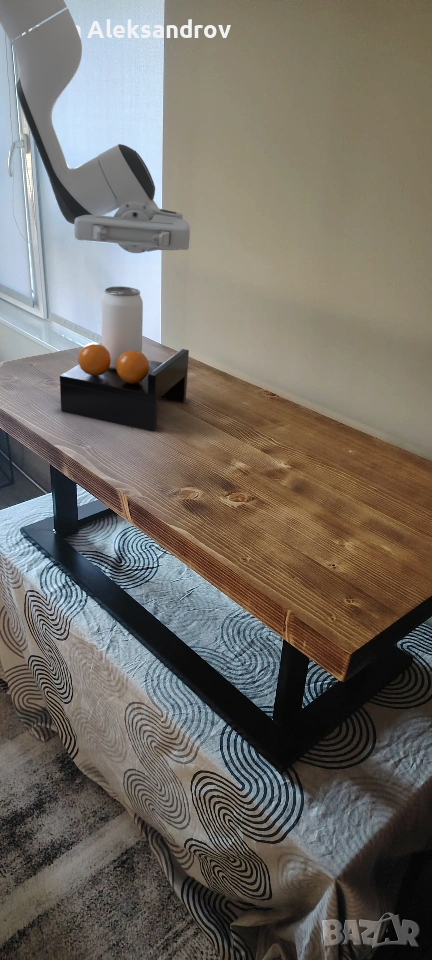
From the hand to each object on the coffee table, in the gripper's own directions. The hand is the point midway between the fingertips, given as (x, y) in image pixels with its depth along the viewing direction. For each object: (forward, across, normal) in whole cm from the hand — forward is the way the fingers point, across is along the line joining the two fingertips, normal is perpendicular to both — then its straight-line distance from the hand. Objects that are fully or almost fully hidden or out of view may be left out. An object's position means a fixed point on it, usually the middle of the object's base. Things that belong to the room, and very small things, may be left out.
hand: (129, 238), depth 105 cm
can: (+12, 0, +18) cm, 22 cm away
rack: (+15, +1, +24) cm, 28 cm away
